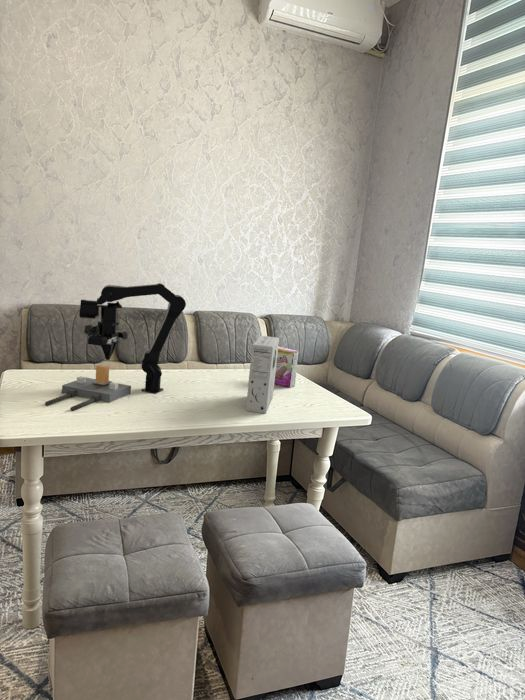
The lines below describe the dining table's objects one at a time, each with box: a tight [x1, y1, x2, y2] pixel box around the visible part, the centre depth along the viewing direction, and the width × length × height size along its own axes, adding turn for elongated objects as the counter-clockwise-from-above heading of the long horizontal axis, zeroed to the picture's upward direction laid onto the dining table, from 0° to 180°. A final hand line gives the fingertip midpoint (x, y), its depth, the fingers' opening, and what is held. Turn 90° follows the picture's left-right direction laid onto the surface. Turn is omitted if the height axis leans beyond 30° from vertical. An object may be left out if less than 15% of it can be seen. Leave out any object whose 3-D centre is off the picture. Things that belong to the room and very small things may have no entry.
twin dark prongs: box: [44, 393, 96, 412], centre depth 176 cm, size 15×11×1 cm
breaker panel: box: [61, 375, 132, 404], centre depth 188 cm, size 16×20×5 cm
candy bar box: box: [274, 346, 300, 388], centre depth 227 cm, size 11×5×16 cm, turn 58°
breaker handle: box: [92, 364, 113, 385], centre depth 191 cm, size 5×5×6 cm
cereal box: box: [245, 335, 280, 414], centre depth 194 cm, size 22×8×25 cm, turn 172°
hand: (107, 359), depth 193 cm, fingers closed
